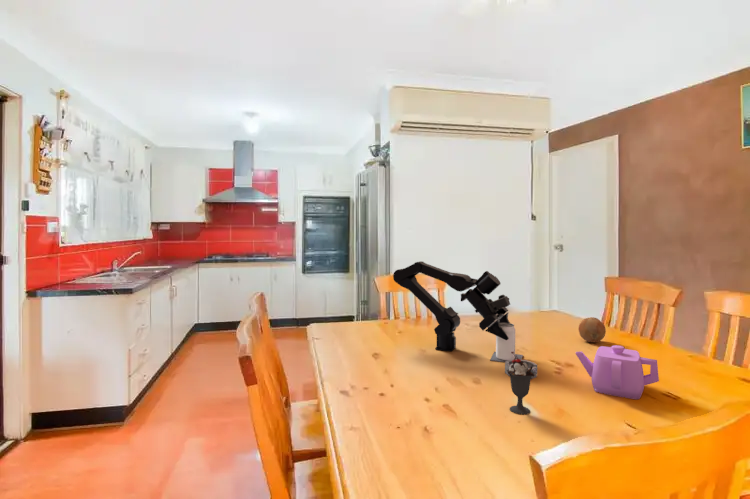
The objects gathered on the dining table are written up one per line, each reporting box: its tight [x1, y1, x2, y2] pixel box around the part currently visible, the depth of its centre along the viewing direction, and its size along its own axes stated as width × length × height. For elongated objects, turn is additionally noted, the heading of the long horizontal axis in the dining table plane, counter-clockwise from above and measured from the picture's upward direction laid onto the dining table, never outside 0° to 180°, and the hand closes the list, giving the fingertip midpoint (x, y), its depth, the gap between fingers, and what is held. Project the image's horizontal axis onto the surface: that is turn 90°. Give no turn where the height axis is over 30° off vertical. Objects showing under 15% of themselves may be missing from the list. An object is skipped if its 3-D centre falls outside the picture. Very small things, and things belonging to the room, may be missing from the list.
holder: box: [504, 359, 538, 380], centre depth 132 cm, size 10×10×3 cm
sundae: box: [507, 352, 534, 416], centre depth 105 cm, size 7×7×15 cm
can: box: [495, 322, 516, 361], centre depth 146 cm, size 6×6×12 cm
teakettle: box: [575, 344, 660, 400], centre depth 119 cm, size 17×17×12 cm
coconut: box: [578, 317, 607, 343], centre depth 167 cm, size 10×10×10 cm
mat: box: [489, 351, 524, 363], centre depth 147 cm, size 10×10×1 cm
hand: (510, 336), depth 146 cm, fingers open, 9 cm apart
